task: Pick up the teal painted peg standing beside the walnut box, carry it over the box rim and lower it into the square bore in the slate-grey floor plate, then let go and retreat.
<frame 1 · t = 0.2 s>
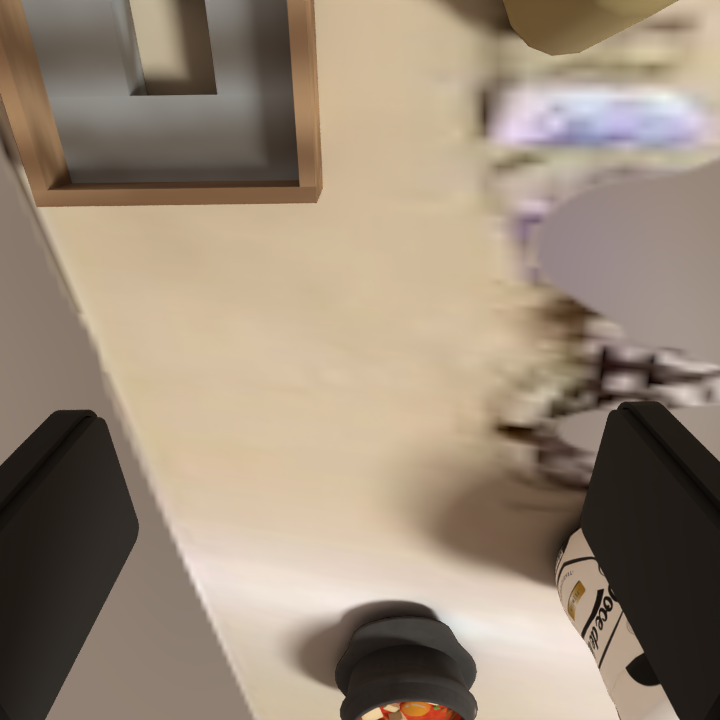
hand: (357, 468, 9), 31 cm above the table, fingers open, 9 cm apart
doce de leite jar: (621, 544, 55), on the table
box: (180, 47, 32), on the table
casserole: (404, 659, 65), on the table
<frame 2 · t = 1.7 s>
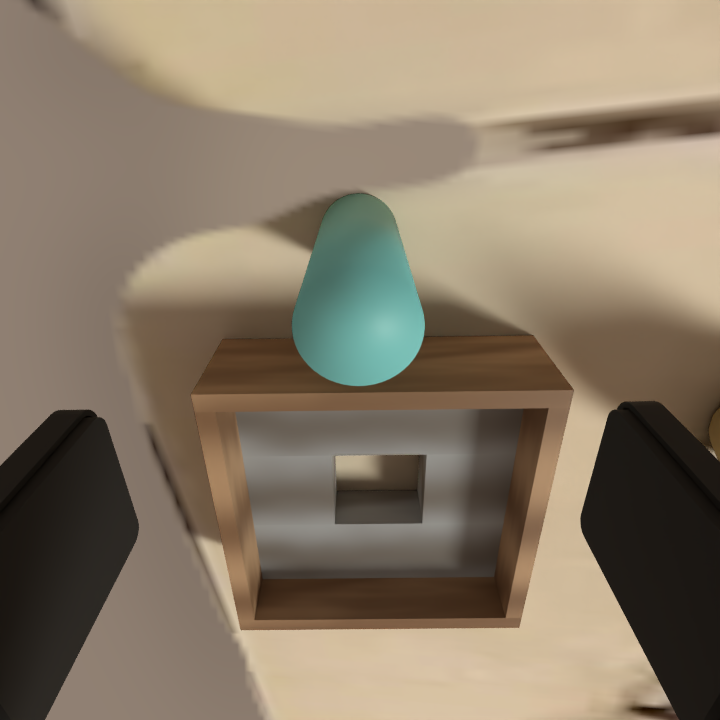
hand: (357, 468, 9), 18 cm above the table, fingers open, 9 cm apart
peg: (358, 233, 25), on the table
box: (377, 459, 32), on the table
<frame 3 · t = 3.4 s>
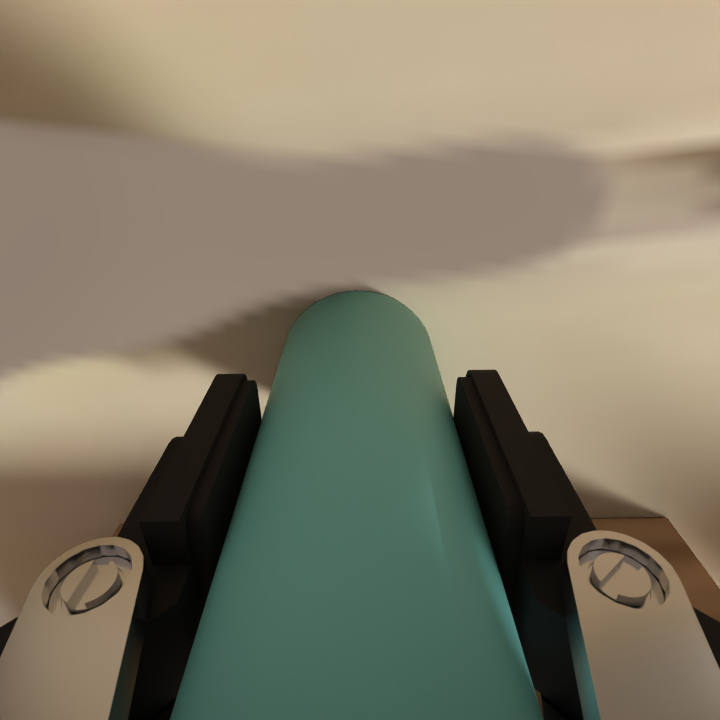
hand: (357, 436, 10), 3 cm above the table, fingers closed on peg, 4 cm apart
peg: (358, 360, 13), on the table, touching gripper
box: (388, 677, 20), on the table
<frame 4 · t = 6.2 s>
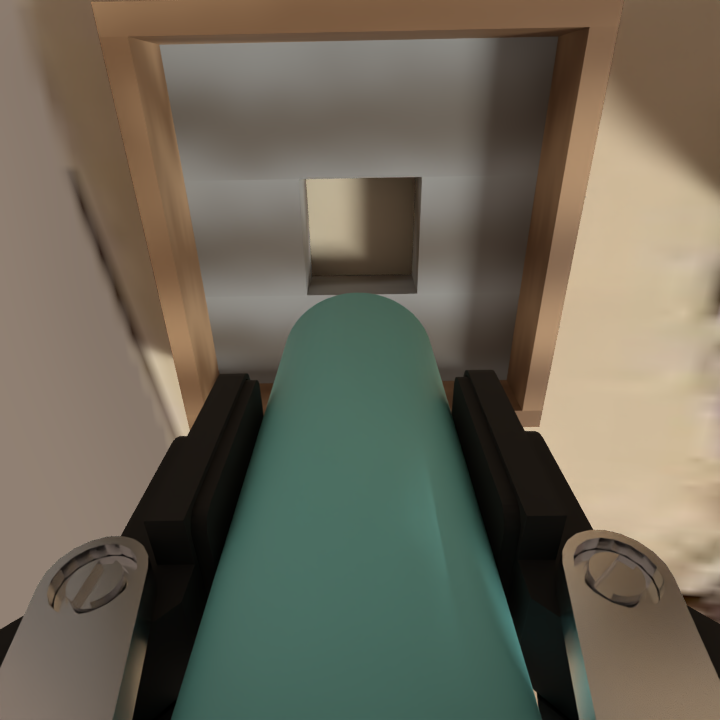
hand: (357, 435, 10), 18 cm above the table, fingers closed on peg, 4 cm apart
peg: (358, 362, 13), point 15 cm above the table, touching gripper
box: (361, 225, 26), on the table
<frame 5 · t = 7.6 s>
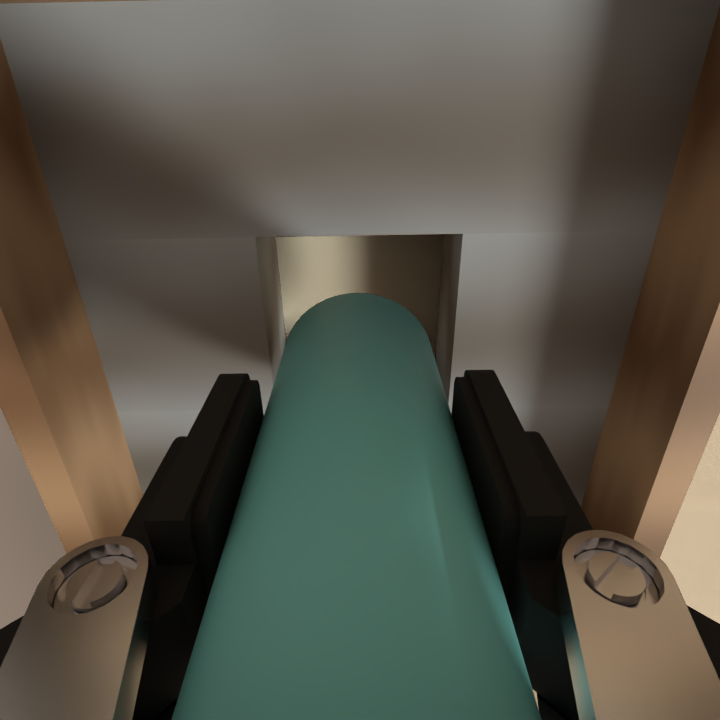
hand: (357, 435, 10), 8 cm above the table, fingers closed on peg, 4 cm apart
peg: (358, 363, 13), point 5 cm above the table, touching gripper
box: (360, 293, 17), on the table
when the fingers open (4 cm above the table, at t = 8.6 s): peg stays where it is, resting in box.
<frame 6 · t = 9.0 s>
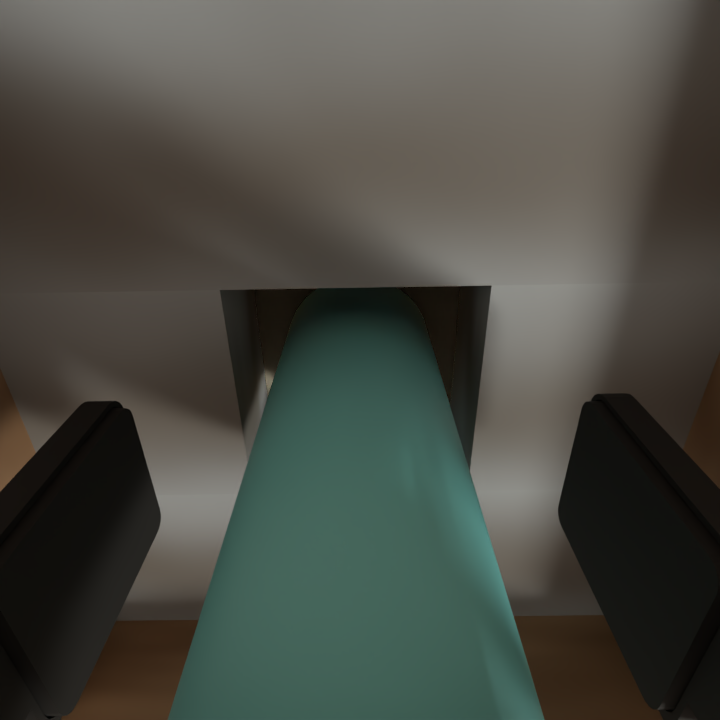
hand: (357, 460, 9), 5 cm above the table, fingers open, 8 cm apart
peg: (358, 343, 14), resting in box
box: (358, 345, 14), on the table
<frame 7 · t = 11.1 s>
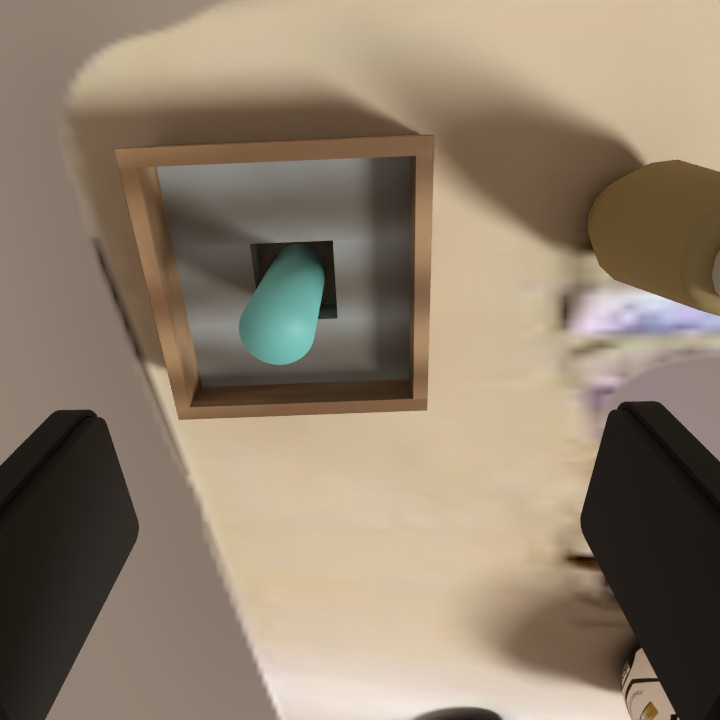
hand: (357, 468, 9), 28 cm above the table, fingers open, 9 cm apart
peg: (299, 270, 36), resting in box
doce de leite jar: (682, 652, 57), on the table
squeeze bottle: (625, 216, 35), on the table
box: (299, 270, 36), on the table
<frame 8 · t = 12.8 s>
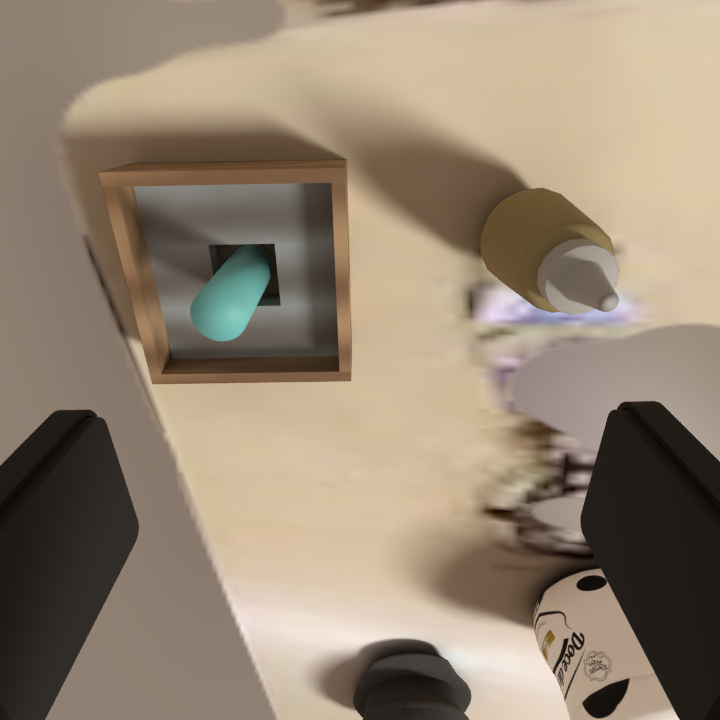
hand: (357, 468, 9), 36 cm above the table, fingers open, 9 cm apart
peg: (252, 265, 45), resting in box
doce de leite jar: (588, 595, 67), on the table
squeeze bottle: (515, 228, 43), on the table
box: (252, 265, 45), on the table
casserole: (410, 685, 78), on the table
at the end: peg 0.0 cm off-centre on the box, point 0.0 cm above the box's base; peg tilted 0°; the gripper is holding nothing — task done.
